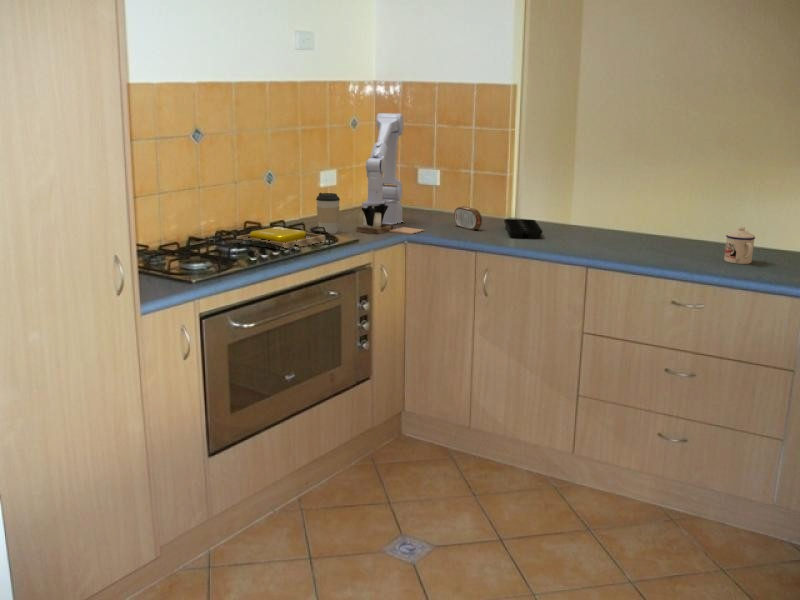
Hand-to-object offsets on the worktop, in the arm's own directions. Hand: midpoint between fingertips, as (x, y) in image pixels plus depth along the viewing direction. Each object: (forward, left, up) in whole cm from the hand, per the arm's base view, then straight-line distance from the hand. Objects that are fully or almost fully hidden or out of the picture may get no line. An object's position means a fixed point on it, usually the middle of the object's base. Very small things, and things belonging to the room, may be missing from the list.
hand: (374, 224), depth 334 cm
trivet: (-7, +10, -2) cm, 13 cm away
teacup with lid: (-28, +130, -3) cm, 132 cm away
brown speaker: (-30, +24, -3) cm, 38 cm away
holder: (0, 0, -2) cm, 2 cm away
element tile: (+43, -12, -3) cm, 44 cm away
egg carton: (-34, +46, -3) cm, 58 cm away
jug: (0, -1, -2) cm, 3 cm away
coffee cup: (+14, -12, -3) cm, 19 cm away
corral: (+42, -10, -2) cm, 44 cm away
